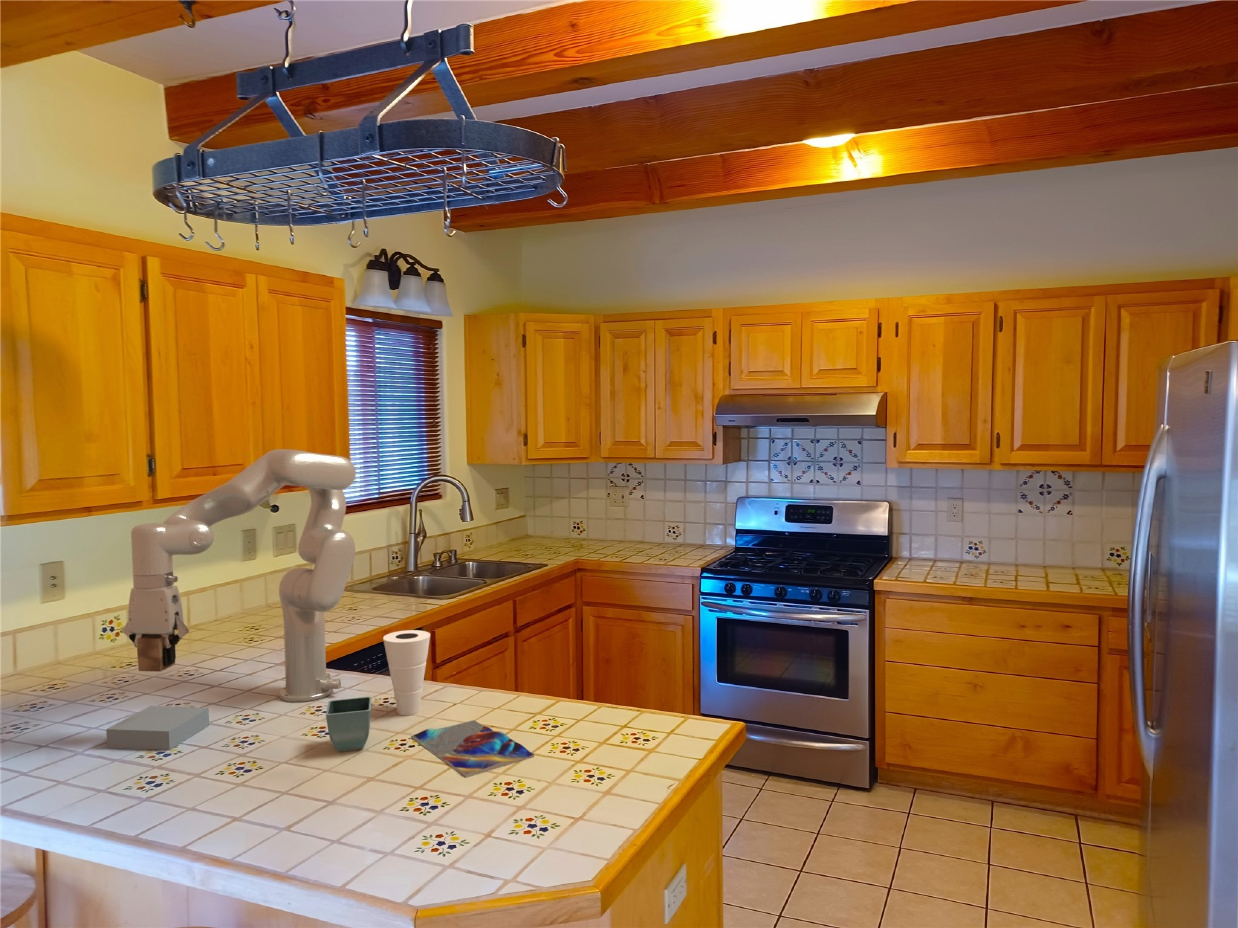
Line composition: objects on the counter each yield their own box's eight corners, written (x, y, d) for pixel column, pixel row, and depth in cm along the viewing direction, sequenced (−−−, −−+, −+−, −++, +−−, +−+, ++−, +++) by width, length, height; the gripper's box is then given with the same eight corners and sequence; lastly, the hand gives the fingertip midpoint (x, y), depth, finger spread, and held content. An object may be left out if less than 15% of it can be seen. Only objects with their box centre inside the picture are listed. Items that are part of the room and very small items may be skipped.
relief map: (410, 740, 180) (410, 731, 180) (474, 724, 189) (474, 715, 189) (466, 780, 160) (466, 770, 160) (534, 760, 169) (533, 750, 169)
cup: (441, 709, 197) (439, 634, 196) (406, 723, 188) (404, 644, 187) (410, 700, 203) (408, 627, 202) (375, 714, 194) (373, 637, 193)
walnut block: (175, 664, 183) (173, 633, 183) (160, 671, 178) (159, 639, 178) (153, 663, 183) (152, 632, 183) (138, 670, 179) (137, 638, 178)
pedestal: (209, 725, 188) (208, 707, 188) (169, 749, 174) (168, 731, 174) (150, 723, 189) (150, 705, 189) (107, 747, 175) (106, 729, 175)
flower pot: (326, 757, 170) (325, 714, 169) (329, 741, 178) (328, 699, 178) (371, 752, 172) (370, 709, 172) (372, 736, 181) (371, 695, 180)
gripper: (201, 578, 182) (204, 659, 184) (128, 577, 184) (132, 658, 185) (179, 585, 175) (183, 670, 176) (104, 584, 177) (108, 668, 178)
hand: (156, 663), depth 181 cm, fingers closed on walnut block, 5 cm apart
